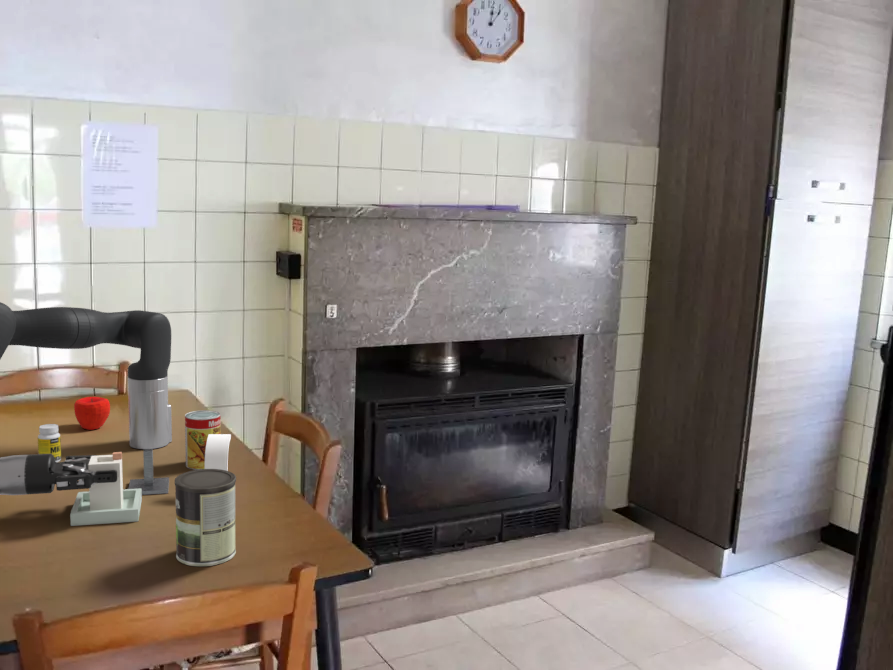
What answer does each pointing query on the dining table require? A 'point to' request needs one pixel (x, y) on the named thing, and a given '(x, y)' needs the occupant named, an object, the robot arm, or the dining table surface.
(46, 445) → the supplement bottle
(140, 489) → the tray
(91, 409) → the apple
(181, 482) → the coffee can
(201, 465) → the canned food
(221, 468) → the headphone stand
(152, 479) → the post
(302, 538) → the dining table surface
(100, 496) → the open-top white box
